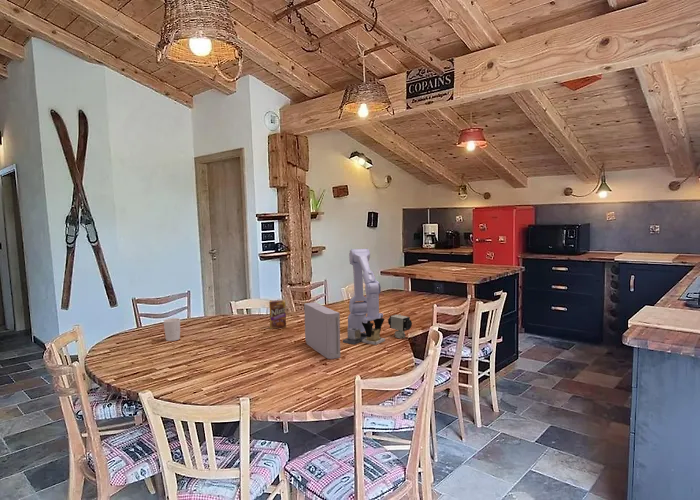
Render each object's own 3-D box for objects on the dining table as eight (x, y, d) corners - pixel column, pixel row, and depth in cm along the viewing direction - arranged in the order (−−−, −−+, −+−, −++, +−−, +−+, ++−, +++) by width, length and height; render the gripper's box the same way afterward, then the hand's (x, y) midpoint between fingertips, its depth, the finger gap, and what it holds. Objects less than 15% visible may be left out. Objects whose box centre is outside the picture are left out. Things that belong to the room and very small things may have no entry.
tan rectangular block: (366, 341, 221) (366, 329, 220) (372, 339, 224) (371, 327, 224) (374, 343, 218) (374, 330, 218) (379, 341, 222) (379, 328, 221)
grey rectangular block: (347, 341, 221) (347, 329, 221) (353, 339, 225) (353, 327, 225) (355, 343, 219) (354, 330, 218) (360, 340, 222) (360, 328, 222)
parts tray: (362, 342, 220) (361, 339, 220) (371, 339, 227) (371, 335, 227) (375, 345, 216) (375, 342, 215) (384, 341, 222) (384, 338, 222)
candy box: (269, 329, 249) (268, 301, 248) (270, 327, 254) (269, 300, 252) (286, 328, 251) (285, 301, 249) (286, 326, 255) (285, 299, 254)
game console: (328, 360, 196) (327, 314, 194) (304, 344, 220) (303, 303, 219) (340, 357, 199) (339, 312, 197) (315, 342, 223) (314, 302, 221)
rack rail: (342, 343, 220) (342, 339, 220) (363, 335, 234) (363, 332, 234) (354, 345, 216) (354, 342, 216) (374, 337, 230) (374, 334, 230)
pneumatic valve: (406, 341, 222) (406, 316, 221) (387, 336, 230) (387, 313, 229) (413, 338, 226) (413, 314, 225) (394, 334, 234) (394, 311, 233)
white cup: (184, 338, 235) (183, 319, 234) (172, 342, 228) (171, 322, 227) (173, 336, 238) (172, 317, 237) (161, 340, 231) (160, 321, 230)
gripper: (371, 310, 211) (371, 339, 213) (388, 305, 223) (388, 332, 224) (359, 309, 216) (359, 337, 217) (376, 303, 227) (376, 330, 228)
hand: (373, 334), depth 221 cm, fingers open, 7 cm apart
